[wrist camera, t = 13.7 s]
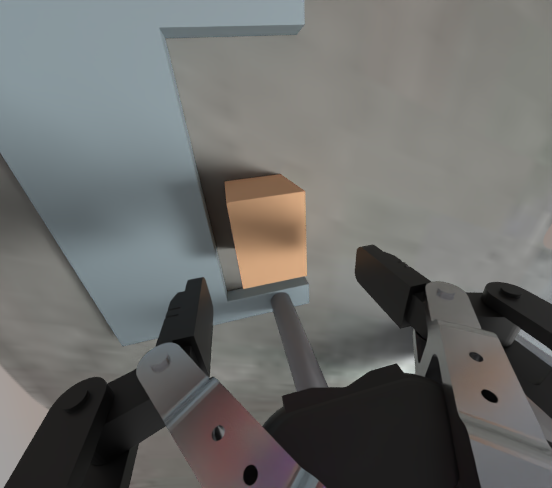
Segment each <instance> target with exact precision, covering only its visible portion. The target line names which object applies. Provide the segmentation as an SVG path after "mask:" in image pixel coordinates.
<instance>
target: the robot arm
mask: <svg viewBox="0 0 552 488" xmlns="http://www.w3.org/2000/svg"><path fill="white" fill-rule="evenodd" d="M355 276H356V279H357V281H358V283H359V284H360V285H361V286H362V287H363V288H364V289H365V290H366V291H367V293H368V294H369V295H370V296H371V297H372V298H373V299H374V300H375V301H376V302H377V303H378V305H379V306H380V307H381V308H382V309H383V310H384V311H385V312H386V313H387V314H388V315H389V317H390V318H391V319H392V320H393V321H394V322H395V323H396V324H397V325H398V326H399V327H400V329H401V328H404V327H408V326H412V327H413V328H414V330H413V334H412V335H413V347H414V359H415V374H409V373H404V372H403V371H402V370H401V369H400V367H399V366H398V365H397V364H393V365H390V366H386V367H382V368H379V369H375V370H372V371H369V372H368V373H366V374H365V375H364V376H362V377H361V378H359V379H358V380H356V381H355V382H353V383H352V384H350V385H349V386H347V387H342V388H341V387H312V388H308V389H305V390H301V391H298V392H294V393H291V394H287V395H284V396H282V399H283V407H282V408H280V409H279V410H277V411H276V412H275V413H274V414H273V415H272V416H271V417H270V418H269V419H268V420H267V421H266V422H265V423H264V425H263V426H261V425H260V424H259V423H258V422H257V421H256V420H255V419H254V417H253V416H252V415H251V414H250V413H249V412H248V411H247V410H246V409H245V408H244V407H243V406H242V405H241V404H240V403H239V402H238V401H237V400H236V399H235V398H234V397H233V395H232V394H231V393H230V392H229V391H228V390H227V389H226V388H225V387H224V386H223V385H222V384H221V383H220V382H219V381H218V380H217V379H216V378H214V377H211V378H209V377H210V362H211V346H212V330H213V304H212V300H211V296H210V293H209V290H208V286H207V283H206V280H205V278H204V277H200V278H195V279H190V280H188V281H187V284H186V288H185V291H183V292H178V293H177V294H176V295H175V296H174V297H173V299H172V300H171V301H170V304H169V307H168V311H167V313H166V316H165V319H164V322H163V325H162V328H161V331H160V334H159V337H158V340H157V343H156V347H154V348H153V349H151V350H150V351H149V352H147V353H146V354H145V355H144V356H143V358H142V359H141V360H140V362H139V364H138V366H137V369H135V370H133V371H132V372H130V373H128V374H126V375H124V376H122V377H120V378H118V379H116V380H114V381H112V382H110V383H108V384H107V383H106V381H105V380H104V379H102V378H100V377H93V378H88V379H86V380H83V381H81V382H79V383H77V384H75V385H74V386H72V387H71V388H70V389H68V390H67V391H66V392H65V393H63V394H62V395H61V396H60V397H59V398H58V399H57V400H56V402H55V403H54V404H53V405H52V407H51V408H50V410H49V412H48V413H47V415H46V417H45V419H44V420H43V422H42V424H41V426H40V427H39V429H38V430H37V432H36V434H35V435H34V438H33V439H32V441H31V442H30V444H29V446H28V447H27V449H26V451H25V452H24V454H23V456H22V458H21V459H20V461H19V463H18V464H17V466H16V468H15V470H14V471H13V473H12V475H11V476H10V478H9V480H8V481H7V483H6V485H5V487H4V488H129V485H130V480H131V476H132V471H133V467H134V463H135V458H136V454H137V450H138V445H139V443H140V442H141V441H143V440H145V439H146V438H148V437H149V436H151V435H153V434H154V433H156V432H157V431H159V430H160V429H162V428H164V427H165V426H166V427H167V429H168V430H169V432H170V434H171V435H172V437H173V439H174V441H175V442H176V444H177V446H178V447H179V449H180V451H181V452H182V454H183V456H184V457H185V459H186V461H187V462H188V464H189V466H190V467H191V469H192V471H193V472H194V474H195V476H196V478H197V479H198V481H199V483H200V484H201V486H202V488H552V357H551V356H550V355H548V354H547V353H545V352H544V351H542V350H541V349H539V348H538V347H536V346H535V345H533V344H532V343H530V342H529V341H528V340H526V339H525V338H523V337H522V336H520V335H519V334H518V333H519V331H520V329H522V330H524V331H525V332H526V333H528V334H529V335H531V336H532V337H534V338H535V339H537V340H538V341H540V342H541V343H542V344H544V345H545V346H547V347H548V348H549V349H550V350H552V304H550V303H549V302H547V301H545V300H543V299H541V298H539V297H537V296H536V295H534V294H532V293H530V292H528V291H526V290H524V289H522V288H520V287H518V286H515V285H512V284H508V283H502V282H491V283H488V284H487V285H486V287H485V289H484V291H483V293H466V292H465V291H463V290H462V289H461V288H459V287H457V286H455V285H453V284H450V283H446V282H439V281H435V282H431V281H430V280H428V279H427V278H425V277H424V276H423V275H421V274H420V273H418V272H417V271H415V270H414V269H413V268H411V267H409V266H408V265H407V264H405V263H404V262H402V261H401V260H400V259H398V258H397V257H396V256H394V255H391V254H389V253H386V252H383V251H382V250H380V249H379V248H378V247H376V246H375V245H368V246H363V247H359V248H358V249H357V254H356V265H355Z"/></svg>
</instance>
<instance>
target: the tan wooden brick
mask: <svg viewBox="0 0 552 488" xmlns="http://www.w3.org/2000/svg"><path fill="white" fill-rule="evenodd" d="M224 182H225V193H226V204H227V209H228V214H229V219H230V224H231V233H232V238H233V243H234V245H235V249H236V254H237V260H238V265H239V270H240V275H241V280H242V285H243V289H246V288H251V287H256V286H260V285H265V284H270V283H275V282H279V281H284V280H289V279H294V278H298V277H303V276H307V258H306V211H305V191H304V190H303V189H301V188H300V187H298V186H297V185H295V184H294V183H293V182H291V181H290V180H288V179H287V178H285V177H284V176H282V175H281V174H277V175H269V176H262V177H254V178H247V179H239V180H231V181H224Z"/></svg>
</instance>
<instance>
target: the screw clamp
mask: <svg viewBox="0 0 552 488" xmlns="http://www.w3.org/2000/svg"><path fill="white" fill-rule="evenodd" d="M304 25H305V22H304V0H0V153H1V155H2V156H3V158H4V160H5V161H6V163H7V164H8V166H9V167H10V169H11V171H12V172H13V174H14V175H15V177H16V179H17V180H18V182H19V183H20V185H21V186H22V188H23V190H24V191H25V193H26V194H27V196H28V198H29V199H30V201H31V202H32V204H33V205H34V207H35V209H36V210H37V212H38V213H39V215H40V217H41V218H42V220H43V221H44V223H45V224H46V226H47V228H48V229H49V231H50V232H51V234H52V236H53V237H54V239H55V240H56V242H57V243H58V245H59V247H60V248H61V250H62V251H63V253H64V255H65V256H66V258H67V259H68V261H69V262H70V264H71V266H72V267H73V269H74V270H75V272H76V274H77V275H78V277H79V278H80V280H81V281H82V283H83V285H84V286H85V288H86V289H87V291H88V293H89V294H90V296H91V297H92V299H93V300H94V302H95V304H96V305H97V307H98V308H99V310H100V312H101V313H102V315H103V316H104V318H105V319H106V321H107V323H108V324H109V326H110V327H111V329H112V331H113V332H114V334H115V335H116V337H117V338H118V340H119V342H120V343H121V345H122V346H126V345H131V344H135V343H139V342H143V341H148V340H152V339H156V338H158V337H159V334H160V331H161V328H162V325H163V322H164V319H165V316H166V313H167V311H168V307H169V304H170V301H171V300H172V299H173V297H174V296H175V295H176V294H177V293H178V292H183V291H185V288H186V284H187V281H188V280H190V279H195V278H200V277H204V278H205V280H206V283H207V286H208V290H209V293H210V296H211V300H212V304H213V325H217V324H221V323H225V322H230V321H234V320H238V319H243V318H247V317H251V316H255V315H260V314H264V313H268V312H274V316H275V319H276V323H277V326H278V329H279V333H280V336H281V339H282V343H283V346H284V350H285V353H286V356H287V360H288V363H289V366H290V370H291V373H292V377H293V380H294V383H295V387H296V390H297V392H298V391H301V390H305V389H308V388H312V387H328V386H327V383H326V381H325V378H324V376H323V374H322V371H321V369H320V367H319V364H318V362H317V360H316V357H315V355H314V352H313V350H312V348H311V345H310V343H309V341H308V338H307V336H306V334H305V331H304V329H303V327H302V324H301V322H300V319H299V317H298V315H297V312H296V310H295V308H294V306H298V305H303V304H307V303H309V283H308V282H307V280H306V278H305V277H304V276H303V277H298V278H294V279H289V280H284V281H279V282H275V283H270V284H265V285H260V286H256V287H251V288H246V289H243V288H242V289H237V290H232V291H227V289H226V285H225V281H224V277H223V273H222V269H221V265H220V261H219V257H218V253H217V248H216V244H215V240H214V236H213V232H212V228H211V224H210V220H209V216H208V212H207V208H206V203H205V199H204V195H203V191H202V187H201V183H200V179H199V175H198V171H197V167H196V163H195V158H194V154H193V150H192V146H191V142H190V138H189V134H188V130H187V126H186V122H185V118H184V113H183V109H182V105H181V101H180V97H179V93H178V89H177V85H176V81H175V77H174V73H173V68H172V64H171V60H170V56H169V52H168V48H167V44H166V40H165V38H193V37H230V36H266V35H297V34H298V32H299V31H300V30H301V28H302V27H303V26H304Z"/></svg>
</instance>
